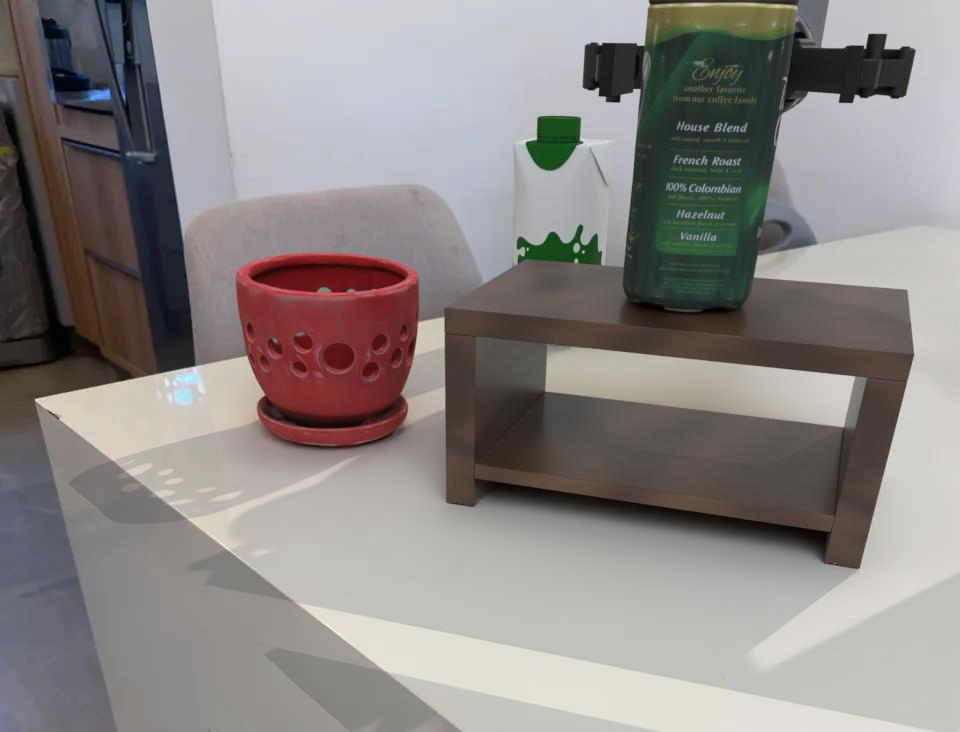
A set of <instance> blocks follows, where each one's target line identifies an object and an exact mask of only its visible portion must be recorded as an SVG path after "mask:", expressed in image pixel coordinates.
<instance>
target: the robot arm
mask: <svg viewBox="0 0 960 732" xmlns="http://www.w3.org/2000/svg"><path fill="white" fill-rule="evenodd" d="M829 3H830V0H799V3H798V4H797V8H798V12H797V17H796V23H795V30H794V38H793V45H792V52H791V59H790V66H789V73H788V78H787V86H786V92H785V98H784V104H783V112H782V115H783V114H785V113H787V112H788V111H790V110H792V109H794V108H795V107H796V106H797V105H799V104H800V103H801V102H803V100H805V98H806V97H808V94H809V93H819V94H820V93H821V94H835V95H839V98H838V104H853V103H854V101H855V97H856V96H858V97H859V98H860V99H869V98H872V97H873V96H874V97H875V96H884V97H889V98H890V99H891V100H899V99H900V98H904V97H906V96H907V94H908V88H909V84H910V80H911V75H912V70H913V66H914V61H915V58H916V53H917V52H916V51H917V49H916V48H915V47H911V46H910V45H909V46H908V45H907V46H906V45H903V46H901V47H899V48H886V43H887V38H888V33H868V35H867V40H866V45H864V44H863V45H860V44H859V45H855V44H853V45H852V44H851V45H850V44H849V45H845V47H822V44H823V39H824V32H825V26H826V21H827V17H828V16H827V15H828V10H829ZM644 46H645V45H638V43H637V42H601V44H600V43H599V42H598V41H597V42H595V41H594V42H593V41H592V42H591V41H590V43H586V44H584V54H583V70H582V85H581V86H582V89H583V90H587V91H593V92H594V91H596V90H597V89H598V97H600V98H603V97H604V98H605V103H610V104H611V103H613V104H615V103H616V104H618V103H619V104H620V103H621V99H622V98H621V96H622V95H628V94H633V93H634V90H641V79H642V67H643V57H644Z"/></svg>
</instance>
